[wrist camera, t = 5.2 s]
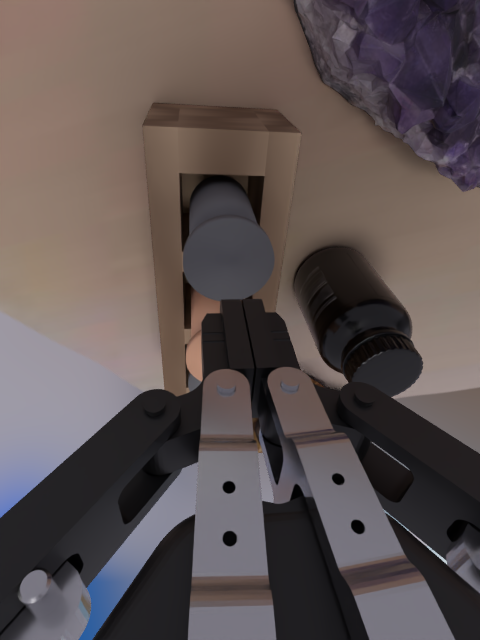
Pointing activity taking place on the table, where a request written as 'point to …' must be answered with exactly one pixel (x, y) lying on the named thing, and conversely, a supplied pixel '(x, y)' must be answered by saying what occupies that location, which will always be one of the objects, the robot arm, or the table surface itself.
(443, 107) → the geode
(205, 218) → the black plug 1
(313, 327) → the supplement bottle
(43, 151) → the table surface
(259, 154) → the walnut socket block
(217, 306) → the terracotta plug
